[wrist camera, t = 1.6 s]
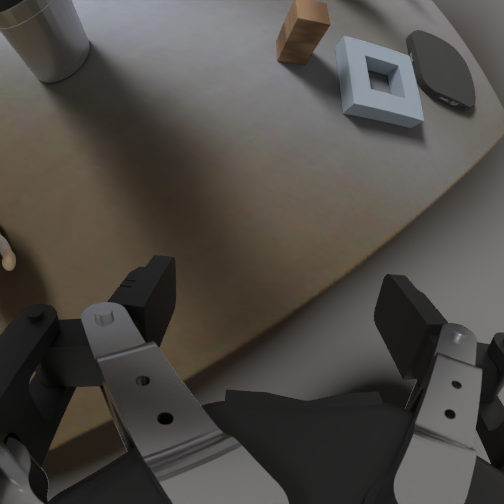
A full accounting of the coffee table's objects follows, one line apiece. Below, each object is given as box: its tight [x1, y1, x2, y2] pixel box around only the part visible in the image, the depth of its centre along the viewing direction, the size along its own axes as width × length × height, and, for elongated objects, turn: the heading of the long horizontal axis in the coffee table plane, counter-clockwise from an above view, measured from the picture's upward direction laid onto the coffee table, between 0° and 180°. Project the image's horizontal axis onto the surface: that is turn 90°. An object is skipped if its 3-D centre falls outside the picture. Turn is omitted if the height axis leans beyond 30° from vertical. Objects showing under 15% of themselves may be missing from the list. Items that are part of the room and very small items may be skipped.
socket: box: [335, 36, 424, 128], centre depth 39 cm, size 12×12×4 cm
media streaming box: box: [406, 30, 475, 110], centre depth 43 cm, size 15×15×3 cm
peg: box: [276, 0, 330, 65], centre depth 34 cm, size 4×4×10 cm
